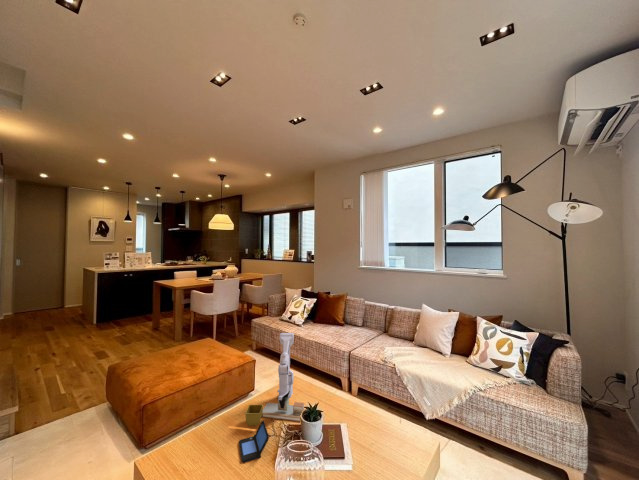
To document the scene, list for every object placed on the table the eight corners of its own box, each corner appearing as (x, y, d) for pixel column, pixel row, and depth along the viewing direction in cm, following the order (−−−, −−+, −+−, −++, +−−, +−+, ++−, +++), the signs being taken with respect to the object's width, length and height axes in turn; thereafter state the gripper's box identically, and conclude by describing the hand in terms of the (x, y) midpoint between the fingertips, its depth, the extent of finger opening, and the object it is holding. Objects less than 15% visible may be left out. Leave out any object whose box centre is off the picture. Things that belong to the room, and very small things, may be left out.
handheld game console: (238, 442, 142) (238, 425, 143) (263, 436, 148) (263, 419, 148) (241, 464, 128) (242, 444, 128) (269, 456, 133) (269, 437, 134)
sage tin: (280, 406, 170) (279, 396, 170) (288, 407, 169) (288, 397, 169) (277, 410, 166) (277, 400, 166) (286, 411, 165) (286, 401, 165)
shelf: (267, 404, 178) (267, 399, 178) (311, 408, 172) (310, 404, 172) (258, 418, 163) (258, 413, 163) (305, 423, 157) (305, 418, 158)
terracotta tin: (294, 411, 168) (294, 402, 168) (304, 412, 167) (304, 403, 167) (293, 415, 164) (293, 405, 164) (302, 416, 162) (302, 406, 163)
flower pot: (259, 429, 153) (259, 413, 153) (244, 429, 153) (244, 413, 153) (263, 419, 162) (263, 404, 162) (249, 419, 162) (249, 404, 162)
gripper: (281, 377, 176) (281, 398, 176) (273, 389, 162) (273, 411, 161) (291, 378, 175) (291, 399, 174) (284, 390, 161) (284, 412, 160)
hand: (283, 405), depth 168 cm, fingers closed on sage tin, 4 cm apart
